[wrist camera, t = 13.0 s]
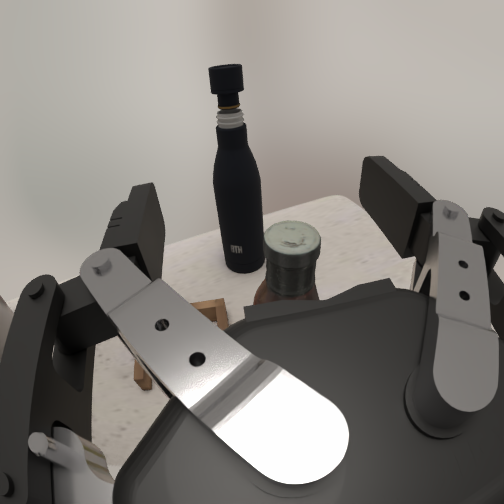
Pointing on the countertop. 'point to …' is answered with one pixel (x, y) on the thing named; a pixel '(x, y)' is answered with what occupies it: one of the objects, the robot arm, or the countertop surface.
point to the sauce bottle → (289, 262)
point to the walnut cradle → (210, 310)
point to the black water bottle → (236, 176)
